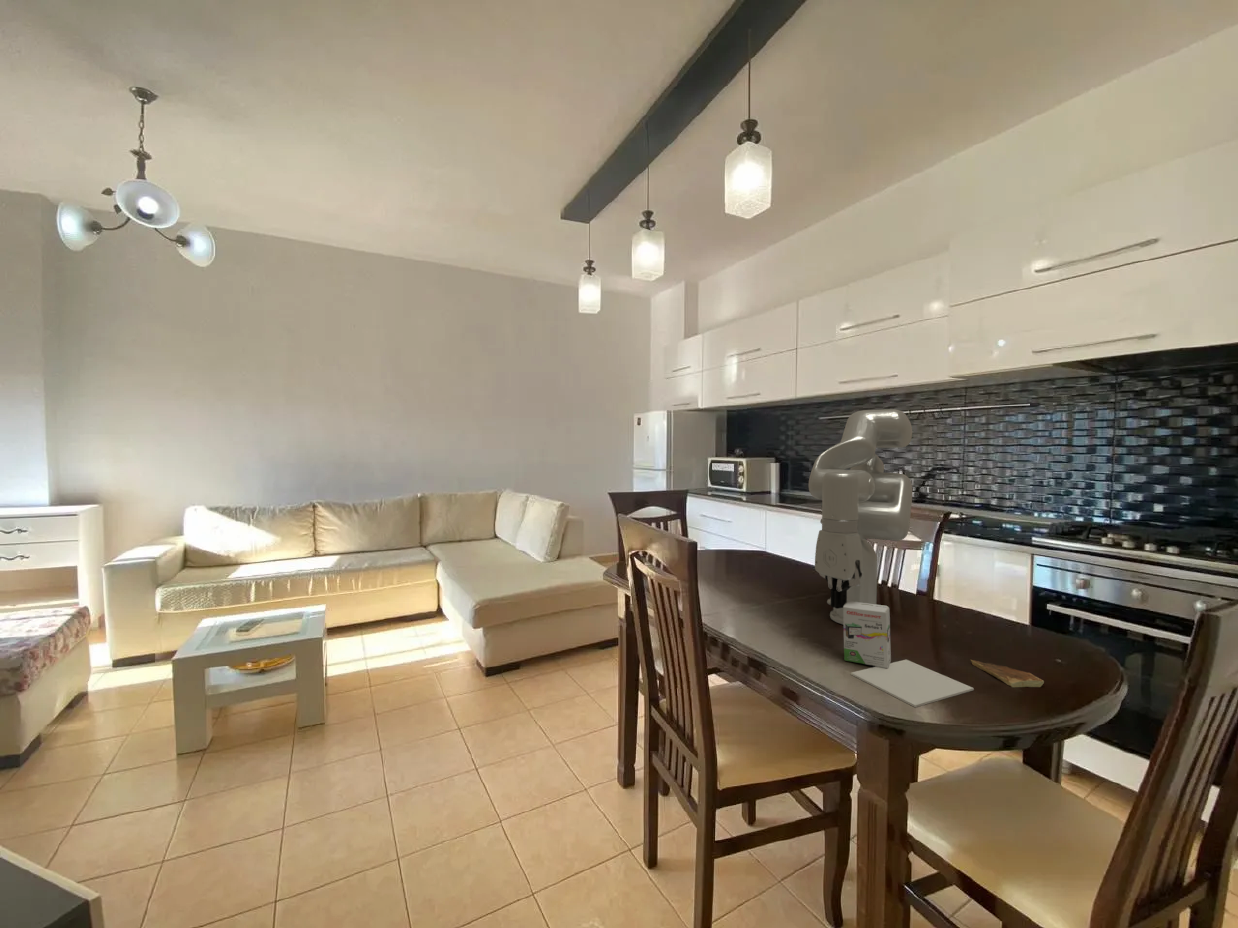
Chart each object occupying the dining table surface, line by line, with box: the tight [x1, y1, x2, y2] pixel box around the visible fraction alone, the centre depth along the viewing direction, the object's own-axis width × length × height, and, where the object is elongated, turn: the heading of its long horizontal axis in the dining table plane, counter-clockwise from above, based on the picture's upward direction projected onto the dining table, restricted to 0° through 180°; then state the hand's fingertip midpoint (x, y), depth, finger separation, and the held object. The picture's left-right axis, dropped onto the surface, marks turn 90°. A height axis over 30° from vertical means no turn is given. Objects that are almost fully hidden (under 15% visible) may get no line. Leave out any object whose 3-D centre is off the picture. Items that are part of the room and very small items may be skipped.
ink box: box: [842, 601, 892, 668], centre depth 109 cm, size 8×5×12 cm, turn 55°
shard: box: [970, 658, 1045, 688], centre depth 103 cm, size 11×8×2 cm
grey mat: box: [850, 659, 975, 708], centre depth 99 cm, size 14×16×1 cm
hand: (838, 606), depth 115 cm, fingers closed
